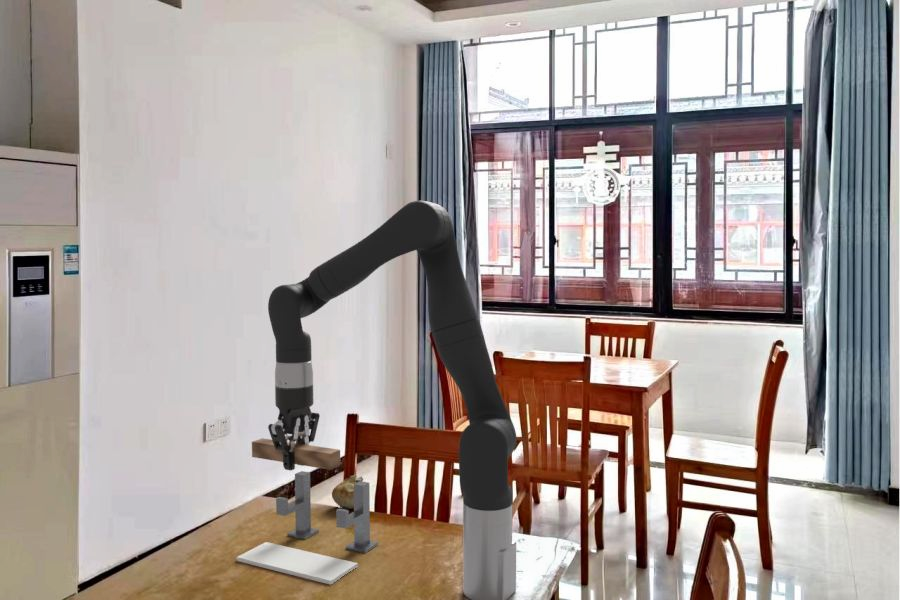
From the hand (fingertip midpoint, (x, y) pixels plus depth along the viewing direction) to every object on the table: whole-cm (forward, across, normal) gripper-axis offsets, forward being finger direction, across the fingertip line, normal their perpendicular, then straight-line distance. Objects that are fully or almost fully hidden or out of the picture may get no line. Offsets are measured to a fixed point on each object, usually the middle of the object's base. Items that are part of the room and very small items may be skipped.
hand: (295, 466), depth 151 cm
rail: (-1, 0, 0) cm, 1 cm away
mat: (+20, 0, 0) cm, 20 cm away
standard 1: (+20, +11, +9) cm, 25 cm away
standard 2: (+20, +11, -7) cm, 24 cm away
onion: (+21, +32, +10) cm, 40 cm away
